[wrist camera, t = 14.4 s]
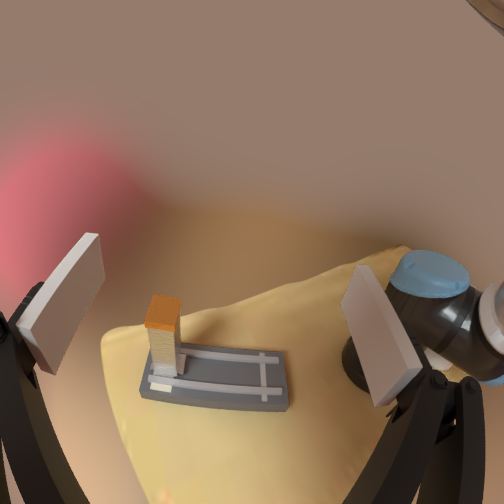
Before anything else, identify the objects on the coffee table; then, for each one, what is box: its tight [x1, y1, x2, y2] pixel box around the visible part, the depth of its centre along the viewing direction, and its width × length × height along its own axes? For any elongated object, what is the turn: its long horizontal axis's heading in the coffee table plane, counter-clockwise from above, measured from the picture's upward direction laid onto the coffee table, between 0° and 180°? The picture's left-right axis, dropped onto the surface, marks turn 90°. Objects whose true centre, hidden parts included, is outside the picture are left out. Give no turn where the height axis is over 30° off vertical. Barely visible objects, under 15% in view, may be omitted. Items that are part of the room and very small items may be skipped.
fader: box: [144, 294, 186, 377], centre depth 35 cm, size 5×5×11 cm
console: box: [139, 342, 289, 412], centre depth 39 cm, size 21×10×3 cm, turn 91°
